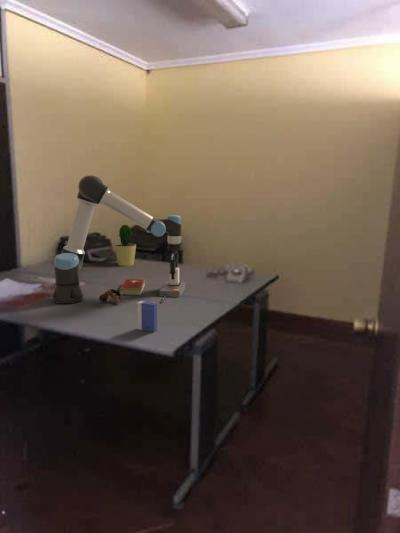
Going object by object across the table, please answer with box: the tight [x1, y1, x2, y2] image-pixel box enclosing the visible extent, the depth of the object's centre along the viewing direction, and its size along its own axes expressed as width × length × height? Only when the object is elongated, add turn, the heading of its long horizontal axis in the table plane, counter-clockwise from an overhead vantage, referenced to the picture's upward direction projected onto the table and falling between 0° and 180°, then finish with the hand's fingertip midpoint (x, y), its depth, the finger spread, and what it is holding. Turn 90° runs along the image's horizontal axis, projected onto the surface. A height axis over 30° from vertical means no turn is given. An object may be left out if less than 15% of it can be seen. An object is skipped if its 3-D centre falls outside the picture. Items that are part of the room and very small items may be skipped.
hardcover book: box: [118, 278, 146, 296], centre depth 223 cm, size 12×21×4 cm, turn 2°
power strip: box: [159, 281, 186, 304], centre depth 214 cm, size 32×11×4 cm, turn 174°
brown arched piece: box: [98, 288, 123, 306], centre depth 196 cm, size 12×10×8 cm
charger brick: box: [168, 267, 180, 285], centre depth 223 cm, size 5×5×9 cm
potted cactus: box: [114, 224, 137, 267], centre depth 286 cm, size 15×15×30 cm
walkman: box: [136, 300, 158, 333], centre depth 162 cm, size 8×3×12 cm, turn 68°
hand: (174, 283), depth 224 cm, fingers closed on charger brick, 5 cm apart
